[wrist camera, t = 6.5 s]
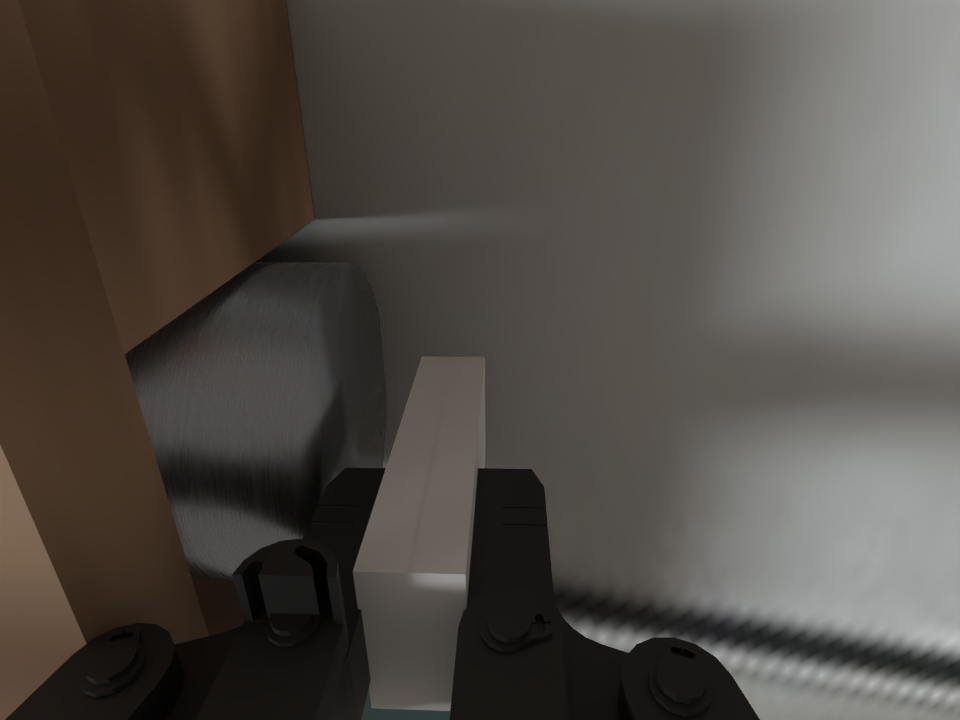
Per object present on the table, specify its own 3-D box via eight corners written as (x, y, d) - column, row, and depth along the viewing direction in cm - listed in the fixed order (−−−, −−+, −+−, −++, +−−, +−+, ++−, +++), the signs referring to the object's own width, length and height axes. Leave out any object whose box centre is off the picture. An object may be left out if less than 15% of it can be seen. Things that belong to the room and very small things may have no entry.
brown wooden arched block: (364, 595, 20) (246, 1014, 11) (193, 591, 20) (-56, 995, 11) (283, -22, 12) (-326, -303, 3) (10, -17, 13) (-1233, -267, 4)
